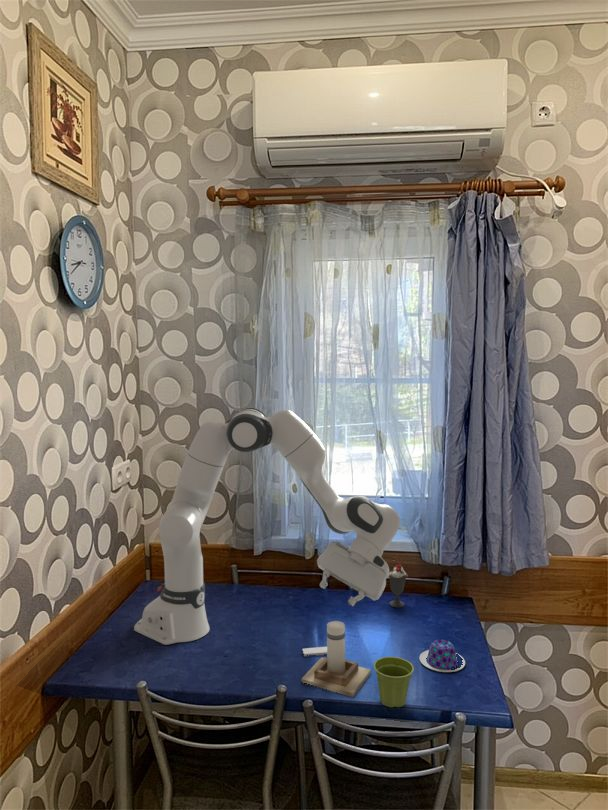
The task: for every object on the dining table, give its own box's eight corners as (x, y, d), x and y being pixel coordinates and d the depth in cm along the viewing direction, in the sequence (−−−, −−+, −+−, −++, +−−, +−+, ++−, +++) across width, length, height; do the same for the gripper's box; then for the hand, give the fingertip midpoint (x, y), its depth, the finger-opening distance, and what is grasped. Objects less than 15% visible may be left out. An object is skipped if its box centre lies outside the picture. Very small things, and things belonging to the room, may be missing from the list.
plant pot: (386, 685, 154) (387, 652, 154) (420, 699, 149) (420, 665, 148) (365, 702, 147) (365, 667, 146) (399, 717, 141) (400, 681, 140)
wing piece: (304, 658, 168) (304, 654, 168) (302, 652, 171) (302, 648, 171) (340, 655, 170) (340, 651, 170) (337, 649, 173) (337, 645, 173)
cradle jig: (301, 682, 156) (301, 671, 155) (321, 660, 166) (321, 649, 166) (353, 697, 149) (353, 685, 149) (370, 673, 160) (370, 662, 160)
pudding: (428, 676, 159) (429, 657, 158) (413, 653, 171) (413, 635, 170) (472, 672, 161) (473, 653, 160) (454, 649, 173) (454, 631, 172)
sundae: (397, 610, 197) (398, 565, 195) (382, 603, 202) (383, 559, 200) (411, 605, 201) (412, 560, 199) (396, 598, 206) (397, 554, 204)
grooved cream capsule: (324, 676, 157) (323, 627, 155) (331, 667, 161) (331, 619, 159) (341, 680, 155) (340, 631, 153) (348, 671, 159) (347, 623, 157)
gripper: (331, 533, 179) (303, 572, 172) (392, 567, 169) (365, 609, 162) (334, 543, 183) (307, 581, 177) (394, 577, 173) (368, 619, 167)
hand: (335, 595), depth 170 cm, fingers open, 8 cm apart
